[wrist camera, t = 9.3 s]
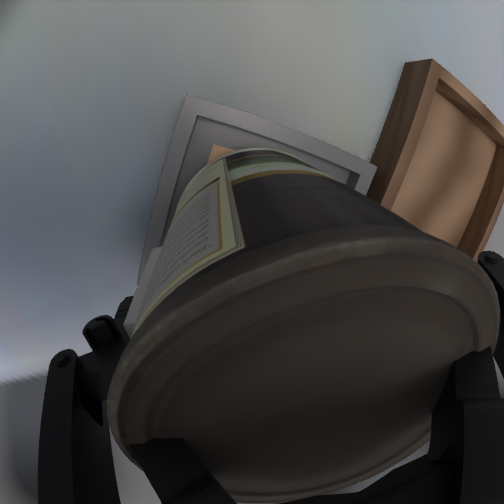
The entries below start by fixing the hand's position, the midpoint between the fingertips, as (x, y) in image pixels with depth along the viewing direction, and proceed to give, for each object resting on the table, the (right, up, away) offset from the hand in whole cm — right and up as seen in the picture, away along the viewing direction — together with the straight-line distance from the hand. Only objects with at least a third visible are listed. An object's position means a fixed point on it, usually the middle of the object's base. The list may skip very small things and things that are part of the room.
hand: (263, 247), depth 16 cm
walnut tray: (+15, +7, +5) cm, 18 cm away
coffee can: (0, +1, +3) cm, 3 cm away
